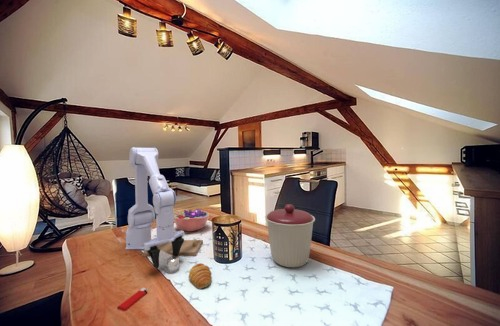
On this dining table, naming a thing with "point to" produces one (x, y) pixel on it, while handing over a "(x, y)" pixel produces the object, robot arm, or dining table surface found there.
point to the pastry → (200, 275)
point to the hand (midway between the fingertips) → (166, 262)
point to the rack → (186, 249)
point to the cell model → (191, 219)
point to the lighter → (132, 299)
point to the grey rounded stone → (168, 262)
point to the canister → (290, 235)
